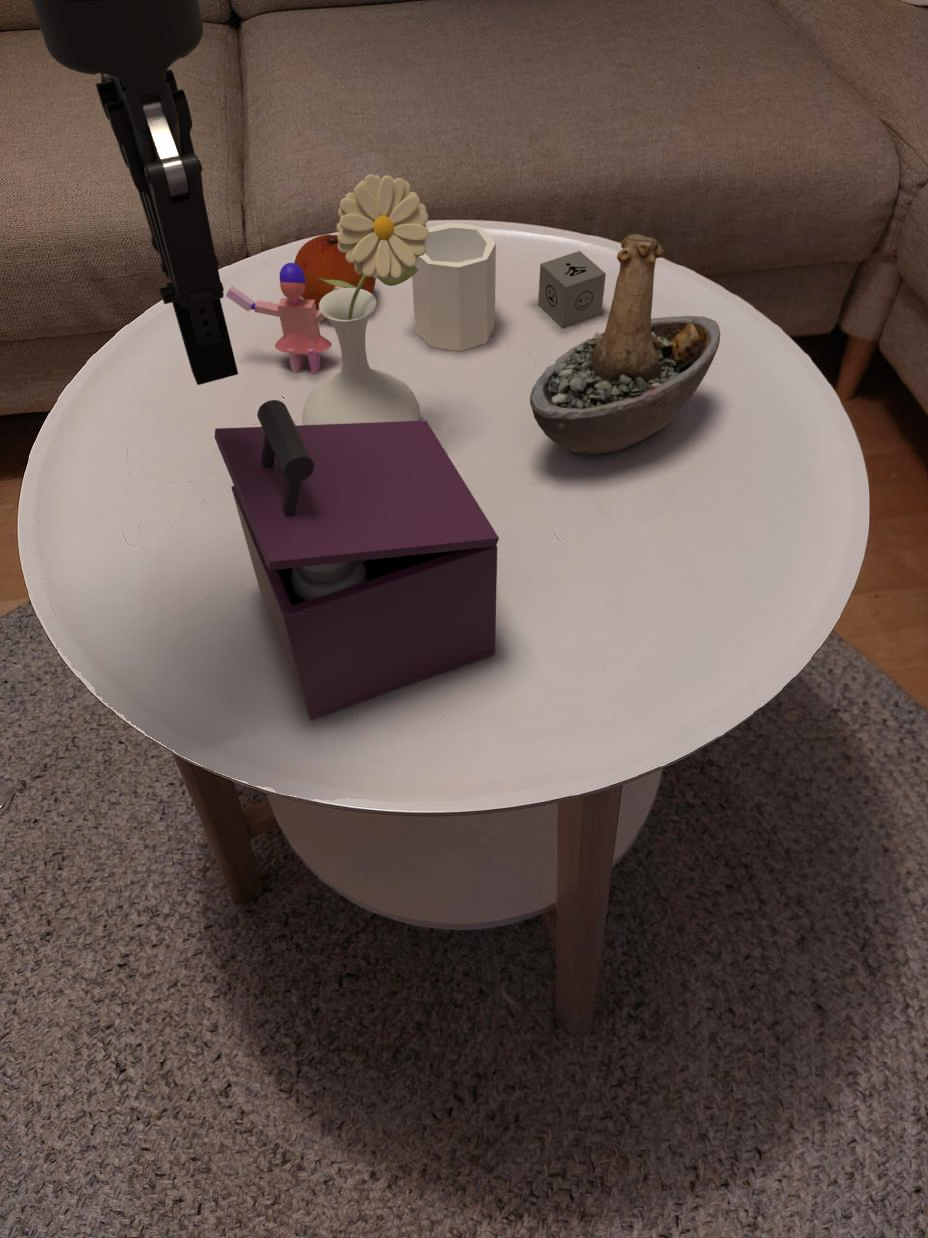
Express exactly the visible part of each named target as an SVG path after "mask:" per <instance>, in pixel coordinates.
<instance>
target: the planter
mask: <svg viewBox="0 0 928 1238" xmlns="http://www.w3.org/2000/svg"><path fill="white" fill-rule="evenodd" d="M620 246H621V247H620V248H621V250H619V251H617V255H616V260H617V261H618V262H619V272H618V274H617V278H616V282H615V286H614V292H613V297H612V302H611V306H610V310H609V314H608V318H607V322H606V325H605V329H604V332H601V333H599V331H596V332H595V333H594V334H593V337H592V338H587V339H586V340H584V341H582V342H581V343H579V344H578V345H576V346H573V347H571V348H570V349H569V350H568V351H566V352H565V353H563V354H562V355H561V356H559V357H558V358H557V359H556V360H555V362H554V363H553V364H551V365H549V366H547V367H546V368H545V369H544V371H543V373H541V375H540V376H539V377H538V379H537V380H536V382H535V383H534V385H533V387H532V389H531V392H530V394H529V395H530V396H529V403H530V404H529V405H530V409H531V411H532V414H533V418H534V420H535V421H536V423H537V425H538V427H539V428H540V429H541V431H542V432H543V433H544V435H545V436H546V437H547V438H548V439H549V440H551V441H552V442H553V443H555V444H556V445H558V446H559V447H562V448H564V449H567V450H570V451H575V452H578V453H579V454H581V455H601V454H602V455H603V454H608V453H613V452H616V451H620V450H623V449H626V448H629V447H631V446H634V445H635V444H637V443H639V442H641V441H644V440H646V439H647V438H648V437H650V436H652V435H653V434H654V433H656V432H659V431H660V430H661V429H663V428H665V427H666V426H667V425H668V424H669V423H671V422H672V420H673V419H674V418H675V417H676V416H677V415H678V413H679V412H681V410H682V409H683V408H684V407H685V406H686V404H687V403H688V402H689V401H690V400H691V399H692V398H693V396H694V394H695V392H696V391H697V390H698V388H699V387H700V385H701V383H702V382H703V380H704V378H705V377H706V375H707V374H708V371H709V370H710V367H711V365H712V363H713V362H714V359H715V356H716V354H717V351H718V349H719V346H720V343H721V331H720V326H719V324H718V322H717V321H716V320H714V319H712V318H709V317H707V316H698V315H697V316H695V315H680V316H664V317H662V316H661V317H653V318H652V309H653V297H654V280H655V270H656V269H655V267H656V262H657V259H661V258H662V257H663V252H664V251H665V249H662V245H661V244H660V243H659V242H658V240H656V239H655V238H654V237H649V236H645V235H643V234H637V233H632V234H629V235H627V236H625V237H624V238H623V239H622V241H621V242H620Z"/></svg>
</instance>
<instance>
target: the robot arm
mask: <svg viewBox="0 0 928 1238" xmlns="http://www.w3.org/2000/svg"><path fill="white" fill-rule="evenodd" d="M30 1H31V4H32V7H33V11H34V14H35V17H36V20H37V22H38V26H39V28H40V31H41V34H42V38H43V41H44V44H45V47H46V50H47V51H48V53H49V55H50V56H51V57H52V58H53V59H54V60H55V61H56V62H57V63H58V64H60V65H62V66H63V67H65V68H67V69H69V70H72V71H74V72H78V73H81V74H87V75H92V76H96V75H97V74H100V81H101V82H96V83H95V87H96V91H97V95H98V97H99V98H98V99H99V101H100V102H99V103H100V104H101V108H102V110H103V112H104V114H105V117H106V118H107V120H108V121H109V124H110V127H111V130H112V132H113V134H114V136H115V139H116V142H117V146H118V148H119V153H120V155H121V157H122V159H123V162H124V164H125V166H126V168H127V169H128V171H129V175H130V177H131V180H132V183H133V184H134V186H135V188H136V190H137V192H138V193H137V194H138V196H139V199H140V202H141V206H142V209H143V213H144V215H145V219H146V222H147V225H148V229H149V232H150V237H151V239H150V243H151V245H152V248H153V249H154V250H155V251H156V253H157V254H158V255H159V258H160V261H161V262H160V264H159V266H160V269H161V272H162V273H164V275H165V277H166V278H167V279H169V280H170V282H167V283H166V286H163V287H160V288H158V290H159V293H160V297H161V299H162V301H163V304H164V305H168V304H171V305H172V307H173V311H174V315H175V317H176V321H177V325H178V328H179V332H180V334H181V338H182V342H183V346H184V349H185V352H186V356H187V359H188V363H189V366H190V369H191V370H190V371H191V373H192V375H193V378H194V380H195V383H196V385H197V386H201V385H205V384H207V383H212V382H215V381H219V380H223V379H226V378H231V377H233V376H237V375H239V370H238V366H237V362H236V358H235V355H234V350H233V346H232V342H231V338H230V334H229V330H228V326H227V322H226V318H225V317H226V316H225V313H224V309H223V305H222V300H221V299H224V296H225V294H224V291H225V289H224V288H225V287H224V285H223V283H222V281H221V277H220V272H219V266H220V263H219V259H218V257H217V255H216V251H215V246H214V242H213V241H214V240H213V235H212V231H211V227H210V221H209V215H208V211H207V205H206V201H205V196H204V195H205V194H204V186H203V176H202V172H203V171H204V170H203V165H202V162H201V160H199V158H198V155H196V153H195V149H194V145H193V141H192V136H191V130H192V127H193V120H192V119H193V118H192V114H191V110H190V107H189V102H188V98H187V95H186V93H185V91H184V88H181V89H179V88H178V84H177V81H176V77H175V74H174V72H173V70H172V69H171V68H170V67H171V66H172V65H173V64H175V62H176V61H178V60H179V59H184V58H186V57H187V56H188V55H190V54H191V53H193V51H194V50H195V49H196V48H197V47H198V46H199V44H200V43H201V41H202V38H203V34H204V24H203V18H202V14H201V9H200V4H199V0H30ZM169 68H170V69H169Z"/></svg>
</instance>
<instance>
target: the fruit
mask: <svg viewBox="0 0 928 1238" xmlns="http://www.w3.org/2000/svg"><path fill="white" fill-rule="evenodd" d="M338 243H339V241H338V234H323V235H319V236H316V237H314V238H312V239H309V240H308V241H307V242H306V243H304V244H303V245H302V246H301V247H300V249H298V251H297V254H296V256H295V259H294V261H293V263H295V264H297V265H298V266H299V267H300V268H301V269H302V270H303V272H304V275H305V291H304V294H303V295H302V297H301V299H308V300H315V306H316V311H318V310H319V303H320V301H321V299H322V298H323V297H324V296H325V295H326V294H328V293H330V292H332V291H333V290H334V287H335V286H334V285H331V284H329V283H326V282H325V281H321V280H319V279H318V278H317V276H318V277H319V278H321V279H323V280H339V281H344V282H347V283H349V284H351V285H353V286H355V287H357V286H358V284H359V282H360V280H361V278H362V276H363V274H361V275H360V274H357V273H356V272H355V269H354V266H355V263H349V262H348V261H347V260H346V253H342V252H340V251H339V249H338ZM376 281H377V278H373V277H372V276H371V277H366V279H365V281H364V283H363V285H362V287H361V289H363V290H366V291H368V292H370V293H371V294H372V293H373V292H374V290H375V288H376V287H375V286H376ZM344 288H346V287H344ZM372 295H373V294H372Z"/></svg>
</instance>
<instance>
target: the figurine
mask: <svg viewBox="0 0 928 1238" xmlns="http://www.w3.org/2000/svg"><path fill="white" fill-rule="evenodd" d="M279 287H280V290H281V293H282V294H283V296H284V297H280V299H279V302H278V303H273V302H269V301H263V300H259V299H257V300H256V301H255V300H254V299H252V298H250V297H249V296H248V295H246V294H245V293H243V292H242V291H241V290H240V289H238V288H236V287H235V286H234V285H232V286H231V287H230V288H228V290H227V292H226V295H225V297H226V298H228V299H229V300H231V301H232V302H233V303H235V304H236V305H238V306H239V307H241V308H242V309H243V310H245V311H246V312H250V311H251V310H252V311H254V313H259V314H263V315H268V316H271V317H272V316H273V317H278V318H279V321H280V327H281V330H282V337H280V338H279V339H278V340H277V341H276V343H275V344H274V348H275V349H276V350H277V351H278V352H279V351H280V352H282V353H284V354H288V357H289V358H288V360H289V364H290V369H291V371H292V372H293V373H297V372H299V371H300V370H301V369H302V368H303V366H304V358H303V355H307V357H308V363H309V369H310V372H311V373H312V374H315V373H318V371H319V370H320V367H321V363H322V362H321V360H322V359H321V356H320V353H321V352H322V353H323V352H324V351H327V350H329V349H330V348H331V347H332V342H331V341H330V340H328V339H327V338H326V337H324V336H323V335H321V329H320V325H319V324H320V323H321V322H322V321H323V320H325V319H327V318H326V317H325V316H324V315H323V314H322V313H321V311H320V309H319V310H316V306H315V300H308V299H303V298H302V295H303V294H304V291H305V275H304V272H303V270H302V269H301V268H300V267H299V266H298V265H297V264H295V263H294V262H288V263H285V264H284V265H282V267H281V269H280V271H279ZM341 288H344V287H339V286H335V287H334V290H337V289H341ZM334 290H333V291H334Z"/></svg>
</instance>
